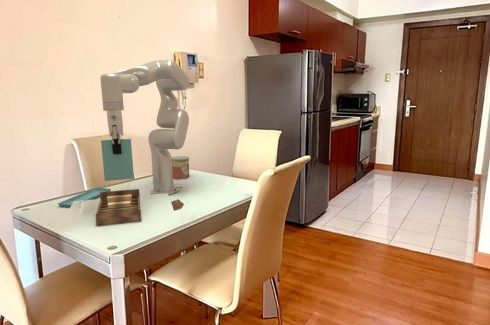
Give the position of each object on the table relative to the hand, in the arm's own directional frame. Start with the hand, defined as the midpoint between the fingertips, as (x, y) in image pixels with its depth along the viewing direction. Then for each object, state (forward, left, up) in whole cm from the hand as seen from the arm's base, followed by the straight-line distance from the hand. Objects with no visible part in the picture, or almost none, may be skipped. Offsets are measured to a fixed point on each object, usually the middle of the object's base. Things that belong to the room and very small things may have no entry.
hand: (117, 153), depth 137 cm
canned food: (-31, -57, -25) cm, 70 cm away
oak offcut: (0, +5, -23) cm, 24 cm away
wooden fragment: (-19, 0, -25) cm, 32 cm away
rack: (0, +7, -25) cm, 26 cm away
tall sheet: (0, 0, -11) cm, 11 cm away
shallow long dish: (+17, -26, -26) cm, 40 cm away
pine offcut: (0, +9, -23) cm, 25 cm away
